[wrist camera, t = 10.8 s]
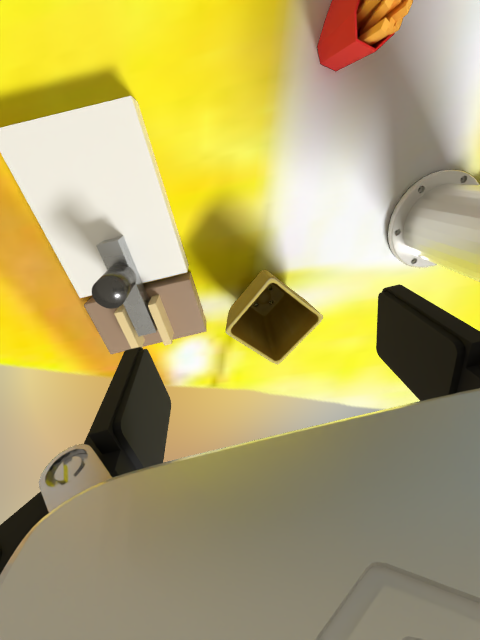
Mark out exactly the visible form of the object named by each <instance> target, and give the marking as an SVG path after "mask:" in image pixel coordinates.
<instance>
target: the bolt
mask: <svg viewBox="0 0 480 640" xmlns="http://www.w3.org/2000/svg"><path fill="white" fill-rule="evenodd" d="M96 247H97V249H98V251H99V253H100V255H101V257H102V260H103V262H104V264H105V266H106V268H107V271H106V272H105V273H104V274H103V275H102V276H101V277H100V278H99V279H98V280H97V281H96V283H95V284H94V285H93V287H92V296H93V298H94V300H95V301H96V302H97V303H98V304H99V305H101V306H102V307H105V308H109V309H114V308H118V307H120V306H121V305H122V304H123V305H124V307H125V309H126V311H127V313H128V315H129V317H130V320H131V322H132V324H133V326H134V328H135V330H136V332H137V335H138V337H139V336H143V335H147V334H151V333H156V332H157V326H156V324H155V322H154V319H153V317H152V314H151V312H150V310H149V307H148V304H149V301H150V300H149V297H148V295H147V292H146V290H145V288H144V285H143V283H142V280H141V278H140V275H139V273H138V271H137V268H136V266H135V263H134V261H133V258H132V256H131V253H130V251H129V249H128V246H127V244H126V241H125V239H124V236H120V237H116V238H112V239H108V240H104V241H102V242H101V243H99V244H98V245H96Z"/></svg>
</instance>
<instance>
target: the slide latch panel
mask: <svg viewBox="0 0 480 640" xmlns="http://www.w3.org/2000/svg"><path fill="white" fill-rule="evenodd" d="M0 152H1V154H2V156H3V158H4V160H5V161H6V163H7V165H8V167H9V169H10V171H11V172H12V174H13V176H14V178H15V180H16V182H17V183H18V185H19V187H20V189H21V191H22V193H23V194H24V196H25V198H26V200H27V202H28V204H29V205H30V207H31V209H32V211H33V213H34V215H35V216H36V218H37V220H38V222H39V224H40V226H41V227H42V229H43V231H44V233H45V235H46V237H47V238H48V240H49V242H50V244H51V246H52V248H53V249H54V251H55V253H56V255H57V257H58V259H59V260H60V262H61V264H62V266H63V268H64V270H65V271H66V273H67V275H68V277H69V279H70V281H71V282H72V284H73V286H74V288H75V290H76V292H77V293H78V295H79V297H80V298H83V297H87V296H91V295H92V287H93V285H94V284H95V283H96V281H97V280H98V279H99V278H100V277H101V276H102V275H103V274H104V273H105V272H106V271H107V268H106V266H105V264H104V262H103V260H102V257H101V255H100V253H99V251H98V249H97V247H96V245H98V244H99V243H101V242H102V241H104V240H108V239H112V238H116V237H120V236H124V239H125V241H126V244H127V246H128V249H129V251H130V253H131V256H132V258H133V261H134V263H135V266H136V268H137V271H138V273H139V275H140V278H141V280H142V283H143V285H144V288H145V290H146V292H147V295H148V297H149V300H150V301H149V304H148V307H149V310H150V312H151V314H152V317H153V319H154V322H155V324H156V326H157V332H156V333H151V334H147V335H143V336H139V337H138V335H137V332H136V330H135V328H134V326H133V324H132V322H131V320H130V317H129V315H128V313H127V311H126V309H125V307H124V305H123V304H122V305H121V306H120V307H118V308H114V309H109V308H105V307H102V306H101V305H99V304H98V303H97V302H96V301H95V300H94V298H93V296H91V298H90V299H89V300H88V301H87V302H86V303H85V304H84V306H85V308H86V310H87V312H88V314H89V315H90V317H91V319H92V321H93V323H94V325H95V326H96V328H97V330H98V332H99V334H100V336H101V337H102V339H103V341H104V343H105V345H106V347H107V348H108V350H109V352H110V354H114V353H118V352H122V351H125V350H128V349H133V348H137V347H143V346H147V345H151V344H156V343H160V342H163V343H164V345H168V344H172V340H173V339H176V338H181V337H185V336H189V335H193V334H197V333H201V332H206V319H205V316H204V313H203V309H202V306H201V303H200V300H199V297H198V293H197V290H196V287H195V284H194V281H193V277H192V274H191V272H189V273H186V272H188V266H189V265H188V261H187V258H186V255H185V252H184V249H183V245H182V242H181V239H180V236H179V233H178V229H177V226H176V223H175V220H174V217H173V213H172V210H171V207H170V204H169V201H168V197H167V194H166V191H165V188H164V185H163V181H162V178H161V175H160V172H159V169H158V165H157V162H156V159H155V156H154V153H153V149H152V146H151V143H150V140H149V137H148V133H147V130H146V127H145V124H144V121H143V117H142V114H141V111H140V108H139V105H138V102H137V101H136V100H135V99H134V98H133V97H132V96H128V97H124V98H120V99H116V100H112V101H108V102H103V103H99V104H95V105H91V106H87V107H83V108H79V109H75V110H71V111H67V112H63V113H58V114H54V115H50V116H46V117H42V118H38V119H34V120H30V121H26V122H22V123H18V124H13V125H9V126H5V127H1V128H0ZM182 273H184V274H182ZM178 274H180V275H178ZM174 275H176V276H174ZM170 276H172V277H170ZM166 277H168V278H166ZM161 278H164V279H161ZM157 279H160V280H157ZM153 280H155V281H153ZM149 281H151V282H149ZM145 282H147V283H145Z"/></svg>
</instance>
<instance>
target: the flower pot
mask: <svg viewBox="0 0 480 640" xmlns="http://www.w3.org/2000/svg"><path fill="white" fill-rule="evenodd" d="M270 286H271V287H272V289H271V290H269V289H268V288H269V287H270ZM270 301H273V303H272V304H270V303H269V302H270ZM255 303H258V305H257V306H254V304H255ZM322 319H323V316H322V315H321V314H320V313H319V312H318V311H317V310H316V309H315V308H314V307H313V306H311V305H310V304H309V303H308V302H307V301H306V300H305V299H303V298H302V297H301V296H299V295H298V294H297V293H295V292H294V291H293V290H291V289H290V288H289V287H287V286H286V285H285V284H284V283H283V282H281V281H280V280H279V279H278V278H276V277H275V276H274V275H273V274H271V273H270V272H269V271H267V270H262V271H261V272H260V273H259V274H258V275H257V276H256V278H255V279H254V280H253V281H252V282H251V284H250V285H249V286H248V287H247V288H246V290H245V291H244V292H243V293H242V294H241V296H240V297H239V298H238V299H237V300H236V301H235V303H234V304H233V305H232V307H231V308H230V310H229V313H228V318H227V325H226V333H227V334H228V335H229V336H231V337H233V338H234V339H236V340H237V341H239V342H240V343H242V344H244V345H245V346H247V347H249V348H250V349H252V350H253V351H255V352H257V353H258V354H260V355H261V356H263V357H265V358H266V359H268V360H269V361H271V362H273V363H275V364H279V363H280V362H281V361H282V360H283V359H284V358H285V357H286V356H287V355H288V354H289V353H290V352H291V351H292V350H293V349H294V348H295V347H296V346H297V345H298V344H299V343H300V342H301V341H302V340H303V339H304V338H305V337H306V336H307V335H308V334H309V333H310V332H311V331H312V330H313V329H314V328H315V327H316V326H317V325H318V324H319V323H320V322H321V320H322Z"/></svg>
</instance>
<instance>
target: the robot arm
mask: <svg viewBox="0 0 480 640" xmlns="http://www.w3.org/2000/svg"><path fill="white" fill-rule="evenodd" d="M388 240H389V245H390V248H391V251H392V252H393V254H394V256H395V257H396V258H397V259H398V260H399V261H401V262H403V263H405V264H407V265H409V266H412V267H417V268H425V267H431V266H435V265H437V264H438V265H440V266H442V267H445V268H447V269H450V270H452V271H454V272H457V273H459V274H462V275H464V276H467V277H469V278H471V279H474V280H476V281H479V282H480V184H479V183H478V181H477V180H476V179H475V178H474V177H473V176H472V175H470V174H469V173H467V172H464V171H460V170H442V171H438V172H434V173H432V174H430V175H427V176H425V177H424V178H422V179H421V180H419V181H418V182H416V183H415V184H414V185H413V186H412V187H411V188H409V189H408V190H407V192H406V193H405V194H404V195H403V196H402V198H401V199H400V201H399V202H398V204H397V205H396V207H395V209H394V212H393V214H392V216H391V220H390V223H389V229H388ZM376 349H377V353H378V355H379V357H380V358H381V359H382V360H383V361H384V362H385V363H386V364H387V365H388V366H389V367H390V369H391V370H392V371H393V372H394V373H395V374H396V375H397V376H398V377H399V378H400V379H401V380H402V381H403V383H404V384H405V385H406V386H407V387H408V388H409V389H410V390H411V391H412V392H413V393H414V394H415V396H416V397H417V398H418V399H419V400H420V401H419V402H415V403H411V404H406V405H402V406H398V407H393V408H389V409H385V410H380V411H376V412H372V413H367V414H363V415H359V416H354V417H350V418H346V419H342V420H338V421H334V422H329V423H325V424H321V425H316V426H312V427H308V428H304V429H300V430H296V431H291V432H287V433H283V434H279V435H275V436H270V437H266V438H262V439H258V440H254V441H250V442H246V443H241V444H237V445H234V446H229V447H225V448H221V449H217V450H213V451H209V452H205V453H200V454H196V455H192V456H188V457H184V458H180V459H176V460H172V461H168V462H164V463H163V459H164V452H165V444H166V438H167V431H168V424H169V417H170V410H171V400H170V397H169V395H168V393H167V391H166V388H165V386H164V384H163V382H162V380H161V378H160V375H159V373H158V371H157V369H156V367H155V365H154V362H153V360H152V358H151V356H150V354H149V352H148V350H147V349H144V350H143V348H142V347H137V348H133V349H128V350H125V352H124V354H123V356H122V359H121V361H120V363H119V365H118V368H117V370H116V372H115V374H114V377H113V379H112V381H111V384H110V386H109V388H108V391H107V393H106V395H105V397H104V399H103V402H102V404H101V406H100V408H99V411H98V413H97V415H96V417H95V420H94V422H93V425H92V426H91V429H90V432H89V433H88V436H87V438H86V440H85V442H84V444H79V445H75V446H73V447H70V448H68V449H66V450H64V451H63V452H61V453H60V454H58V455H57V456H56V457H55V458H54V459H52V461H51V462H50V463H49V464H48V465H47V466H46V468H45V469H44V471H43V473H42V474H41V477H40V480H39V487H40V490H41V492H40V493H38V494H37V495H36V496H35V497H34V498H32V499H31V500H30V501H29V502H28V503H26V504H25V505H24V506H23V507H22V508H20V509H19V510H18V511H17V512H16V513H14V514H13V515H12V516H11V517H10V518H8V519H7V520H6V521H5V522H4V523H2V524H1V525H0V640H480V331H478V330H476V329H475V328H473V327H471V326H470V325H468V324H466V323H465V322H463V321H461V320H459V319H458V318H456V317H454V316H453V315H451V314H449V313H448V312H446V311H444V310H443V309H441V308H439V307H437V306H436V305H434V304H432V303H431V302H429V301H427V300H426V299H424V298H422V297H421V296H419V295H417V294H416V293H414V292H412V291H410V290H409V289H407V288H405V287H404V286H402V285H396V286H391V287H387V288H384V289H383V291H382V293H380V294H379V296H378V319H377V345H376Z"/></svg>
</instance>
